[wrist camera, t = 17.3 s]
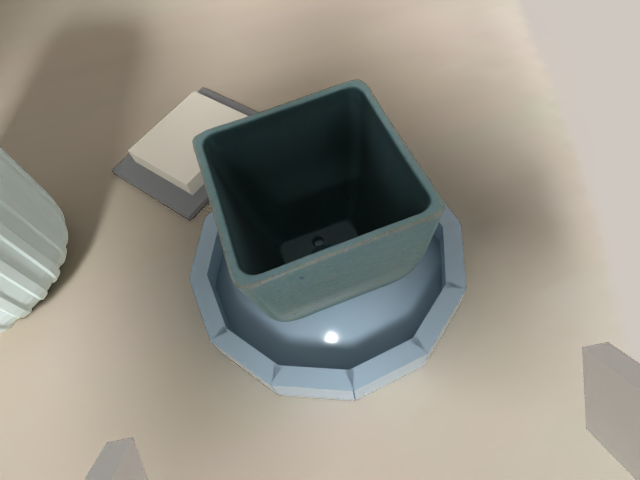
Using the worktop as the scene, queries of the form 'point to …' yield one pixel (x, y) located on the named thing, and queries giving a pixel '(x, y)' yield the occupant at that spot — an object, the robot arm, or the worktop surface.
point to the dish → (335, 323)
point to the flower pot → (316, 201)
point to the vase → (27, 242)
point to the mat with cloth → (178, 152)
